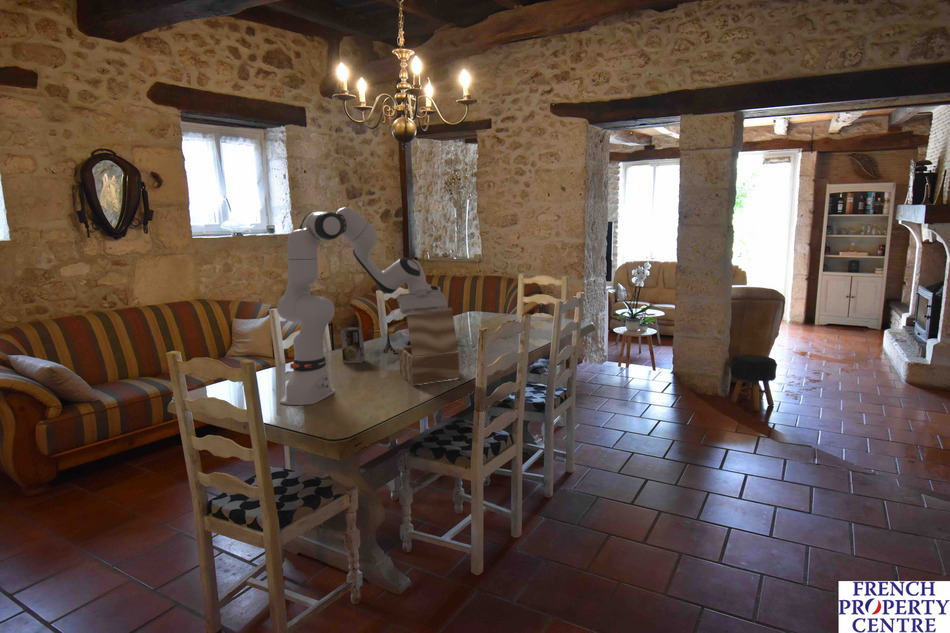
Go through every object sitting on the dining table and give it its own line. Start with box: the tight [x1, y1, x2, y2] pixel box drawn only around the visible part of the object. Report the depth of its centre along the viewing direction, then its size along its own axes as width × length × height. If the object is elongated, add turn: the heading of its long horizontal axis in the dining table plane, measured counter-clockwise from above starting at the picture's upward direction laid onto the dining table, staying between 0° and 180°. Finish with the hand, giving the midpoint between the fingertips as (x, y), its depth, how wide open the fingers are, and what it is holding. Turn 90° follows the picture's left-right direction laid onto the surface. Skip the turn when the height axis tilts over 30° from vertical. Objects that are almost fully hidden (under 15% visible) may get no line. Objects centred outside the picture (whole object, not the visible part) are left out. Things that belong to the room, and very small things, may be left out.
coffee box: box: [340, 326, 365, 364], centre depth 273 cm, size 9×6×16 cm
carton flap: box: [405, 307, 459, 356], centre depth 235 cm, size 18×19×1 cm
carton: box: [398, 345, 460, 386], centre depth 244 cm, size 20×20×12 cm
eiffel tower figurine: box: [371, 328, 396, 355], centre depth 291 cm, size 15×10×13 cm
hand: (427, 318), depth 240 cm, fingers open, 8 cm apart
